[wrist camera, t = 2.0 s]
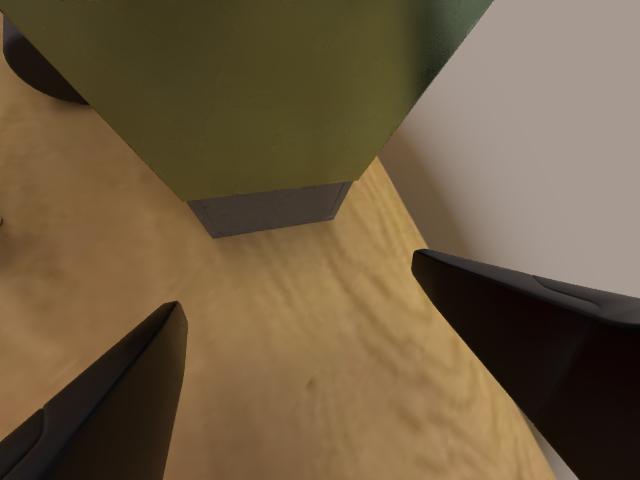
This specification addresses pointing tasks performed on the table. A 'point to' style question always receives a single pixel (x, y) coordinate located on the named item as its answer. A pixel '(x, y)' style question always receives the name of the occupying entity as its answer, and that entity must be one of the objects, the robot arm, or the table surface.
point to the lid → (249, 80)
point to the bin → (269, 209)
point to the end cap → (35, 66)
